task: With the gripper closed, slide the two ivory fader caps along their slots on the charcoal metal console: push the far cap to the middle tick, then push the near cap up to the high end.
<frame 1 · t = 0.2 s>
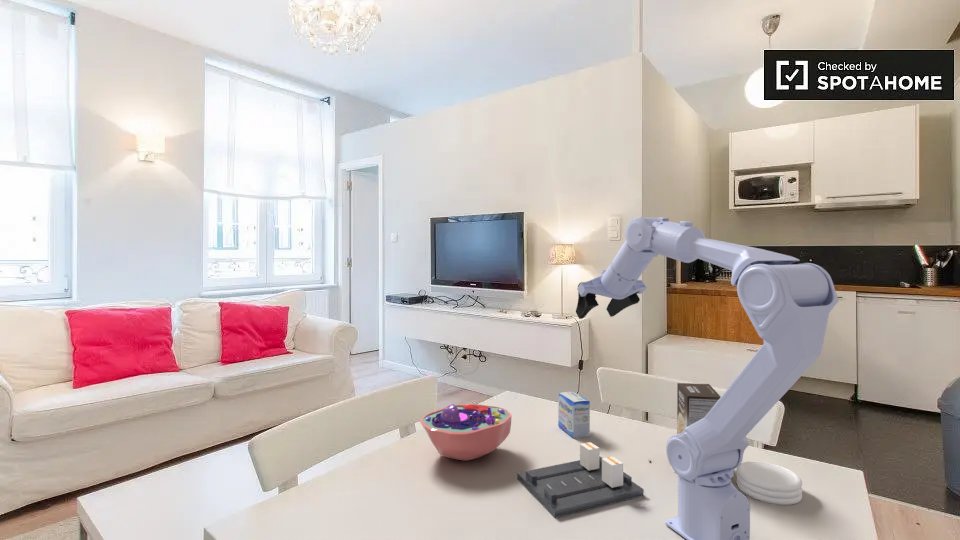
hand: (594, 313, 95), 30 cm above the table, tool tilted 45°, fingers open, 7 cm apart
coffee box: (697, 470, 91), on the table
cell model: (467, 455, 99), on the table
console: (577, 487, 84), on the table
near fader: (612, 471, 82), point 4 cm above the table, slide at -5.0 cm
medicine box: (573, 432, 111), on the table
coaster: (768, 492, 82), on the table
far fader: (589, 455, 89), point 4 cm above the table, slide at -5.0 cm
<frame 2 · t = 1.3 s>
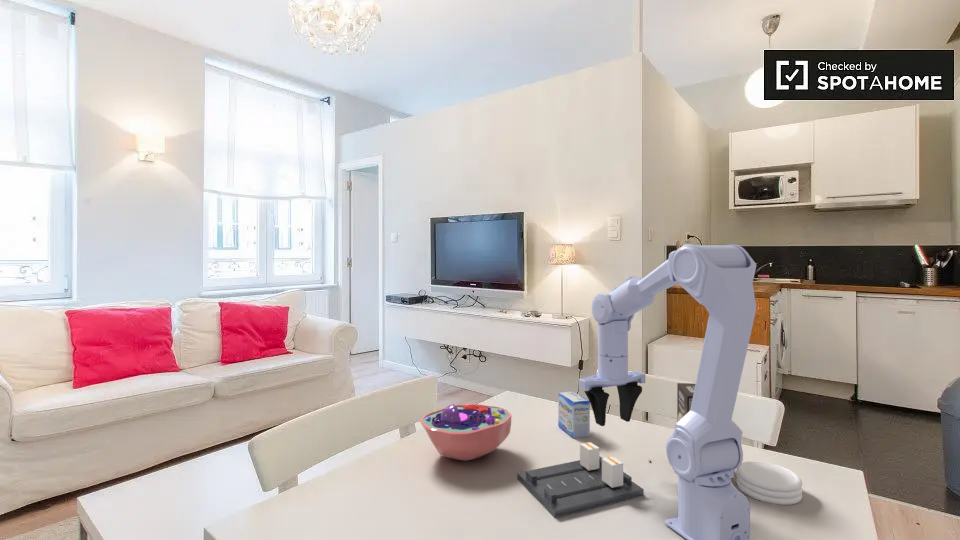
hand: (612, 422, 91), 9 cm above the table, tool pointing down, fingers open, 5 cm apart
nothing on the table moved.
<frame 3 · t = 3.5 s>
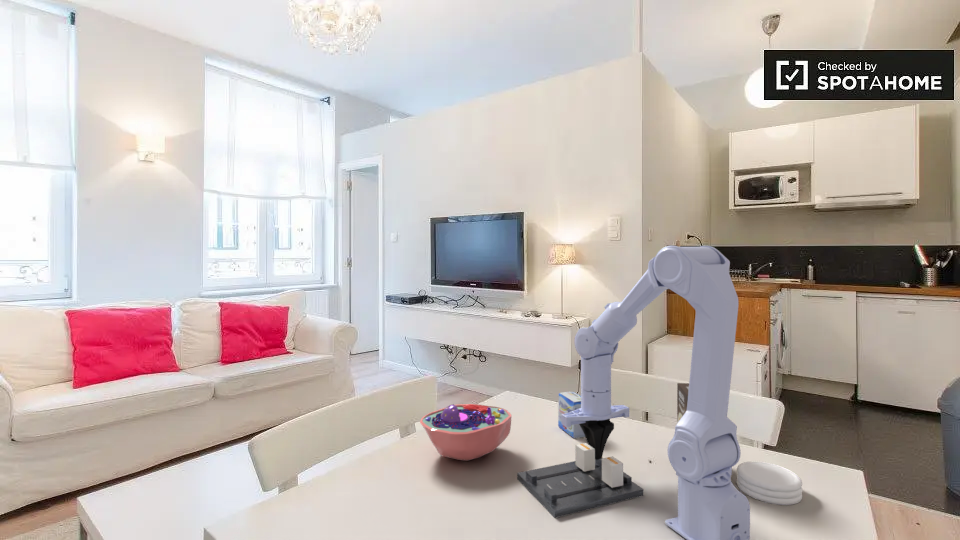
hand: (596, 457, 90), 3 cm above the table, tool pointing down, fingers closed
far fader: (585, 456, 89), point 4 cm above the table, slide at -3.9 cm, touching gripper
everything else where it was.
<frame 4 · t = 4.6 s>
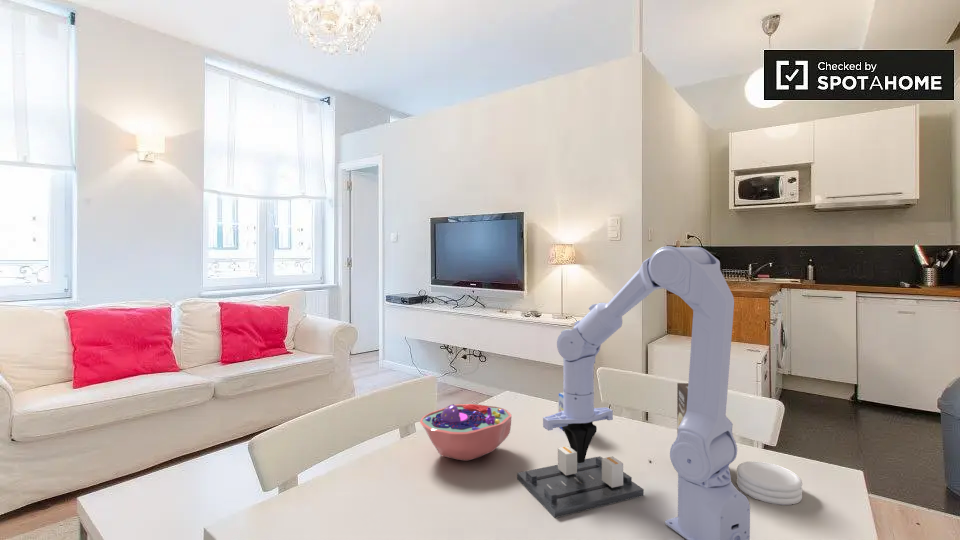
hand: (578, 460, 88), 3 cm above the table, tool pointing down, fingers closed
far fader: (567, 460, 87), point 4 cm above the table, slide at 0.0 cm, touching gripper
everything else where it was.
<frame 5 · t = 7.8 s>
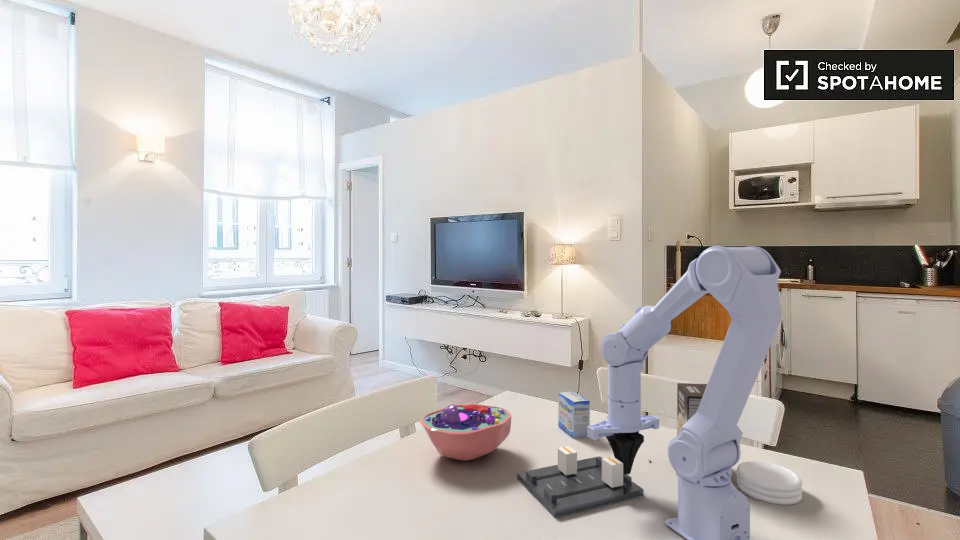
hand: (623, 471, 83), 3 cm above the table, tool pointing down, fingers closed
near fader: (612, 471, 82), point 4 cm above the table, slide at -5.0 cm, touching gripper
far fader: (567, 460, 87), point 4 cm above the table, slide at 0.0 cm
everything else where it was.
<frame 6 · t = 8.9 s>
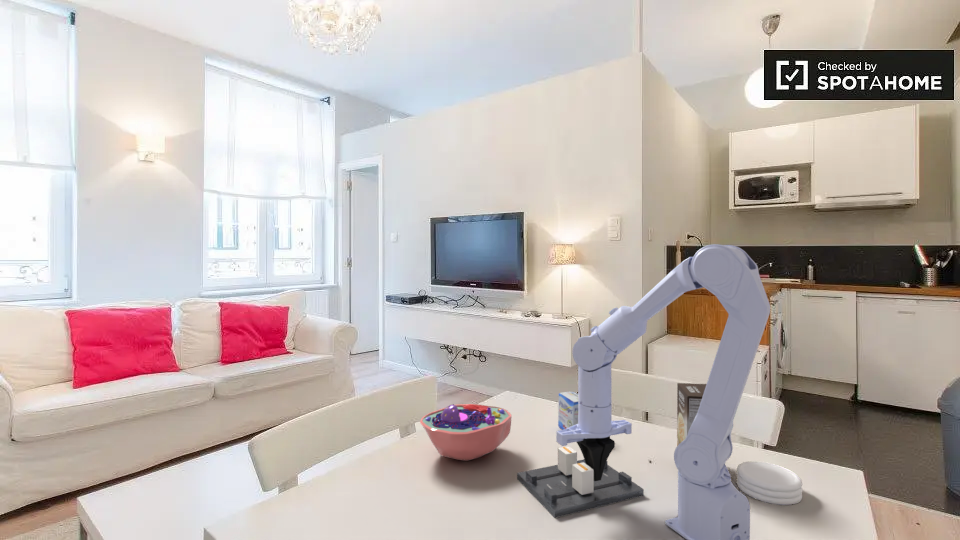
hand: (594, 478, 81), 3 cm above the table, tool pointing down, fingers closed
near fader: (582, 477, 80), point 4 cm above the table, slide at 1.3 cm, touching gripper
everything else where it was.
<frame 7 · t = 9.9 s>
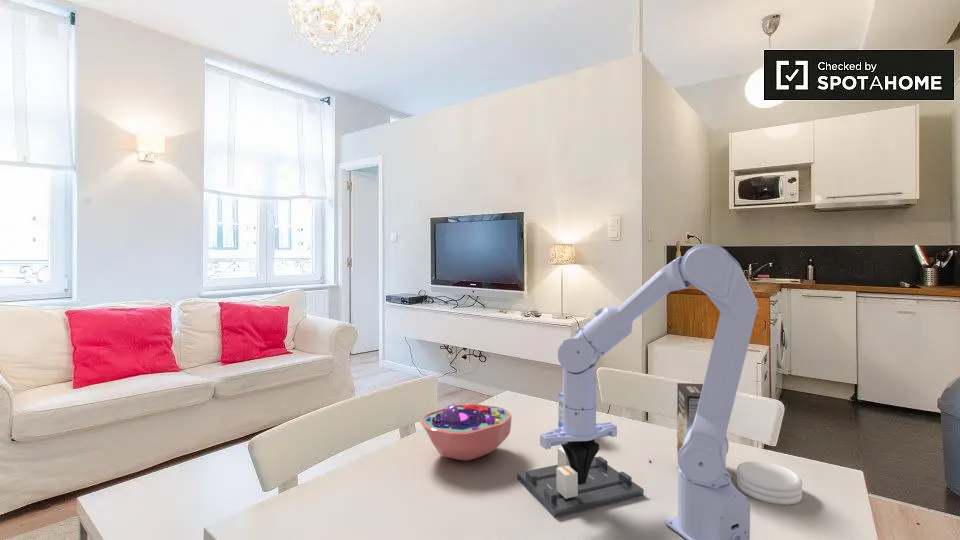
hand: (579, 481, 80), 3 cm above the table, tool pointing down, fingers closed
near fader: (566, 481, 79), point 4 cm above the table, slide at 4.5 cm, touching gripper
everything else where it was.
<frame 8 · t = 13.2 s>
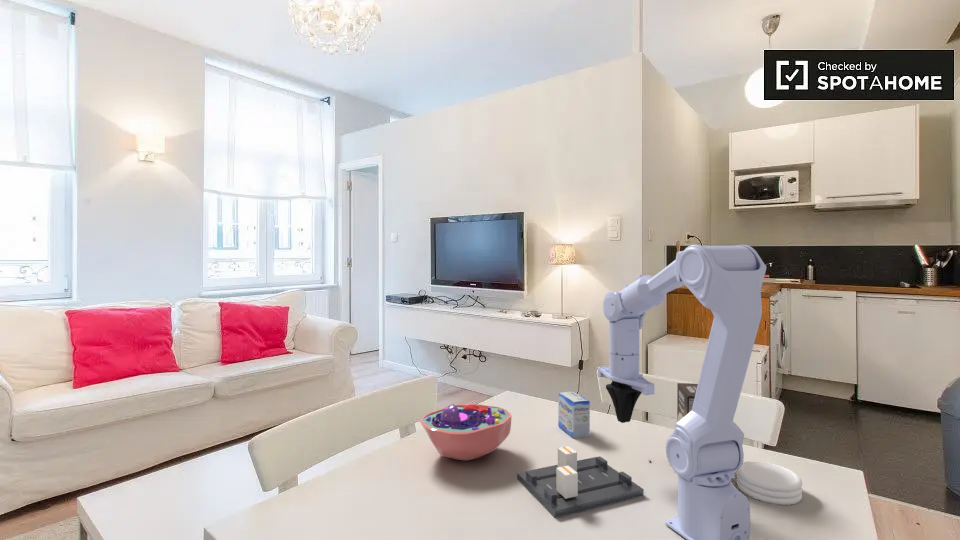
hand: (623, 421, 90), 10 cm above the table, tool pointing down, fingers closed
near fader: (566, 481, 79), point 4 cm above the table, slide at 4.5 cm
everything else where it was.
at the end: far fader slide at 0.0 cm; near fader slide at 4.5 cm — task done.
